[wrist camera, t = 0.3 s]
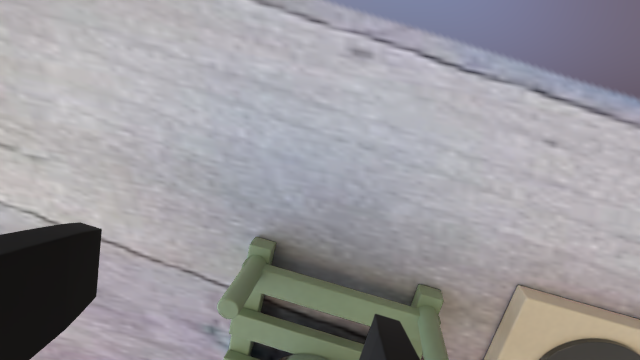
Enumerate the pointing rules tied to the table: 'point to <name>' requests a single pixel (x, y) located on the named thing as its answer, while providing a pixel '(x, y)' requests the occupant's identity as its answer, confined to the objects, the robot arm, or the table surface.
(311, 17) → the table surface
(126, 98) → the table surface
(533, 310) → the hob
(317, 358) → the pot
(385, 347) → the robot arm
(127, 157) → the table surface
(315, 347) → the rack
